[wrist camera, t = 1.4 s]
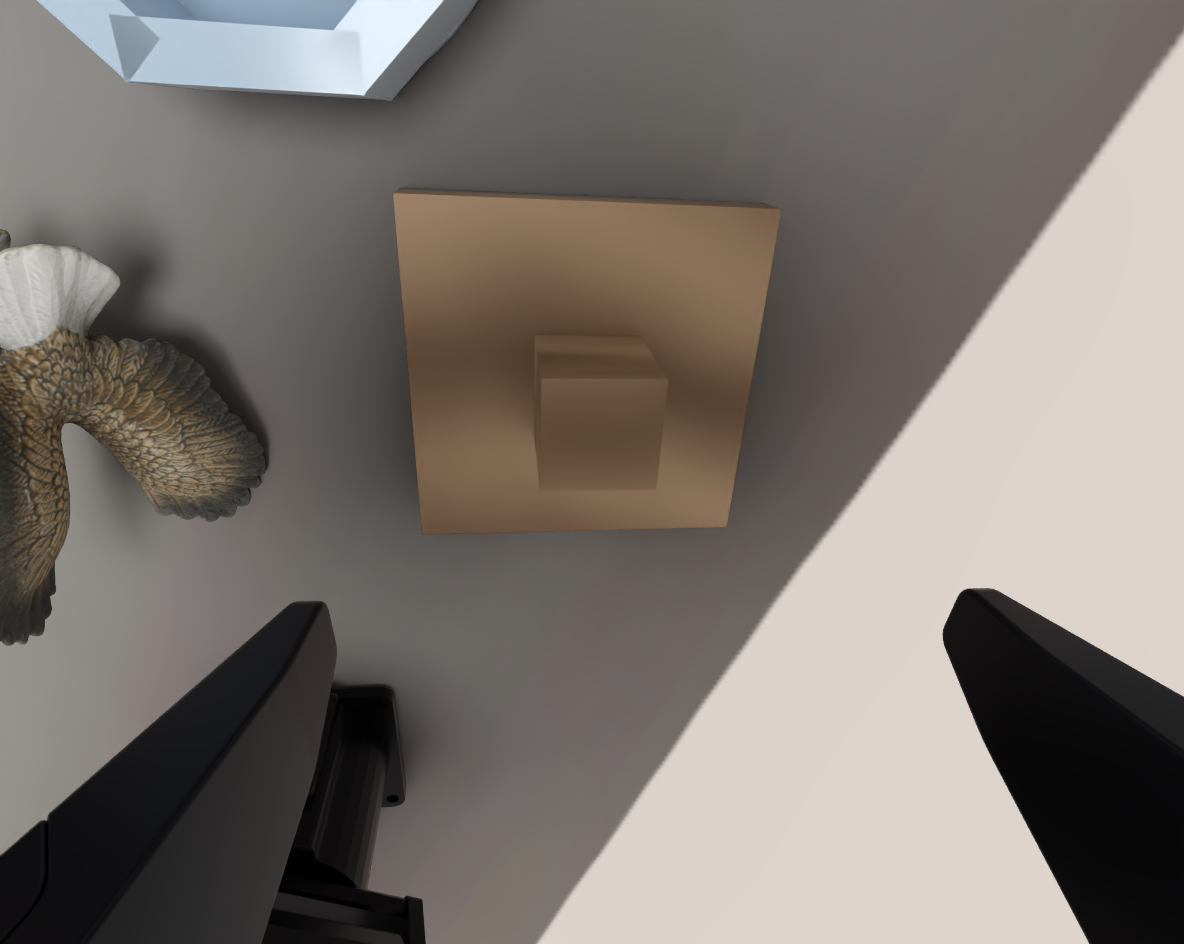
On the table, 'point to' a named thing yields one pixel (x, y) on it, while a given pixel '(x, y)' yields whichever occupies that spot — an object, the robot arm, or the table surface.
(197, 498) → the eagle figurine
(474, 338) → the lid
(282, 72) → the bowl
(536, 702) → the table surface
